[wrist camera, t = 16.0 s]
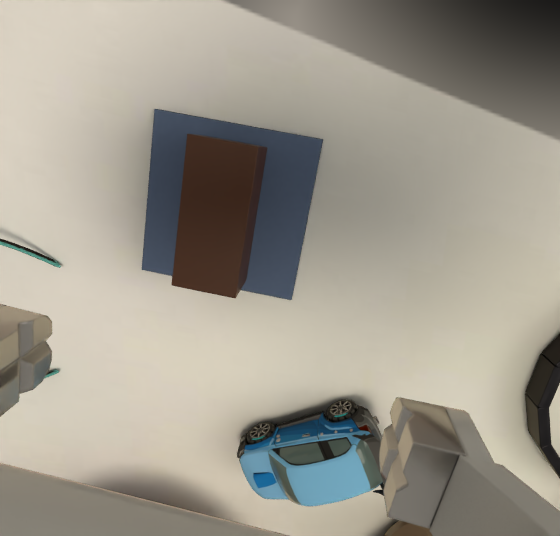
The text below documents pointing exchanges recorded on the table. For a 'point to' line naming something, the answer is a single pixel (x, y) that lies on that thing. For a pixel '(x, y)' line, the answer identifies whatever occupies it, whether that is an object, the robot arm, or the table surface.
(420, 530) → the decorative bottle
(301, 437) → the toy car
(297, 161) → the cloth
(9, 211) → the table surface
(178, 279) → the brown rectangular block
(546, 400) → the pan
